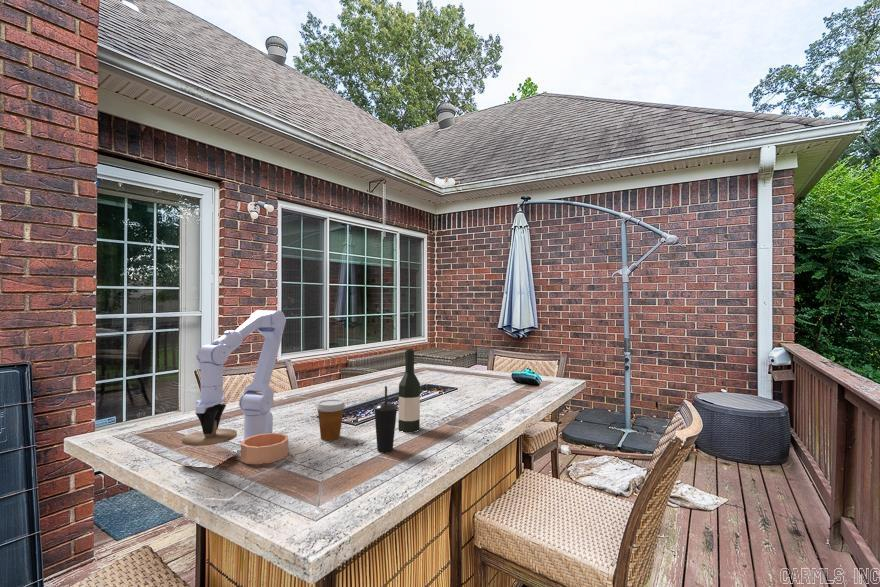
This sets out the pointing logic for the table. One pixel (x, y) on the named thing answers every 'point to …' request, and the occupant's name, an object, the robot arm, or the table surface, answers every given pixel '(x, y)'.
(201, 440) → the lid
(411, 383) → the wine bottle
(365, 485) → the table surface
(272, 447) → the bowl
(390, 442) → the drinking cup
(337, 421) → the disposable coffee cup
